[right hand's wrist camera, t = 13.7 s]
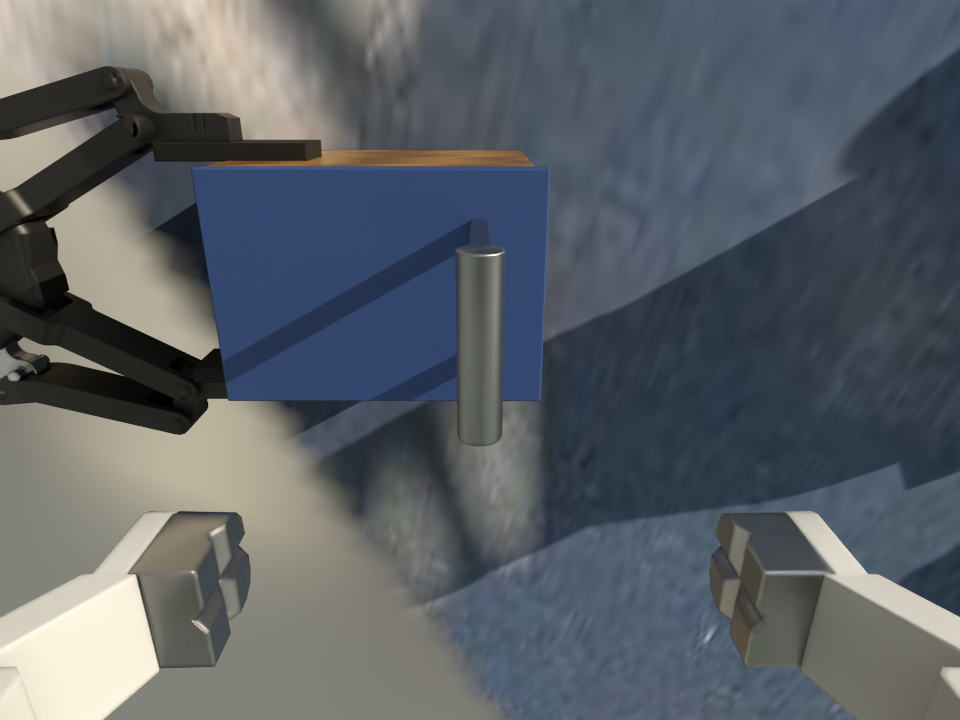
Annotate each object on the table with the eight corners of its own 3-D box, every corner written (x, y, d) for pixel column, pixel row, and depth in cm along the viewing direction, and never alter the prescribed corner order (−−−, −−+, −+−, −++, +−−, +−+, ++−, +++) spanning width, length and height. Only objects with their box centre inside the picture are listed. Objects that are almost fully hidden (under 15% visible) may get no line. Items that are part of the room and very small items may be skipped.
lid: (546, 165, 25) (577, 191, 17) (538, 389, 28) (560, 492, 21) (204, 165, 25) (81, 191, 17) (238, 388, 28) (149, 492, 21)
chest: (520, 150, 34) (535, 165, 25) (516, 320, 38) (528, 388, 28) (278, 149, 34) (204, 165, 25) (297, 320, 38) (239, 388, 28)
